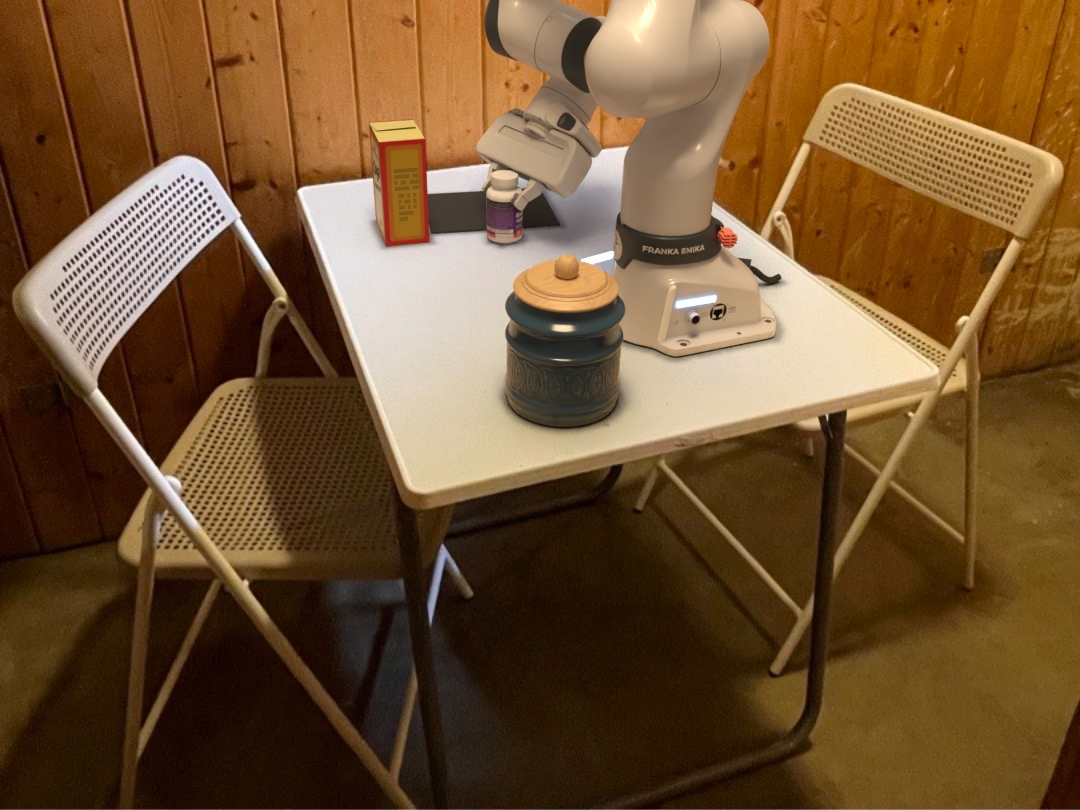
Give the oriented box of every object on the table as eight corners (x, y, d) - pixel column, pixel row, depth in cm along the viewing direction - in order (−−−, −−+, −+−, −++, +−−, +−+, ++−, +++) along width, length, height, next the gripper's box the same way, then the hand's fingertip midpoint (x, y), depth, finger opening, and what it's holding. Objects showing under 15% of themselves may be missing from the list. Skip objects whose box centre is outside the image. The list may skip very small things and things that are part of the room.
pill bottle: (523, 243, 150) (524, 180, 145) (487, 244, 150) (486, 181, 144) (521, 229, 154) (522, 167, 149) (486, 229, 154) (485, 168, 149)
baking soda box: (429, 242, 151) (425, 136, 142) (386, 246, 149) (378, 140, 140) (417, 218, 158) (412, 116, 150) (375, 222, 157) (368, 119, 148)
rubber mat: (540, 189, 170) (540, 187, 169) (560, 226, 157) (560, 224, 157) (421, 196, 166) (420, 194, 166) (431, 233, 153) (431, 232, 153)
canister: (530, 440, 108) (533, 291, 98) (488, 380, 118) (487, 240, 108) (638, 415, 112) (651, 271, 103) (589, 360, 122) (596, 224, 113)
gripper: (498, 93, 153) (447, 169, 153) (588, 127, 140) (532, 210, 140) (521, 117, 158) (472, 191, 158) (610, 152, 144) (556, 232, 144)
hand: (501, 200), depth 148 cm, fingers closed on pill bottle, 5 cm apart
